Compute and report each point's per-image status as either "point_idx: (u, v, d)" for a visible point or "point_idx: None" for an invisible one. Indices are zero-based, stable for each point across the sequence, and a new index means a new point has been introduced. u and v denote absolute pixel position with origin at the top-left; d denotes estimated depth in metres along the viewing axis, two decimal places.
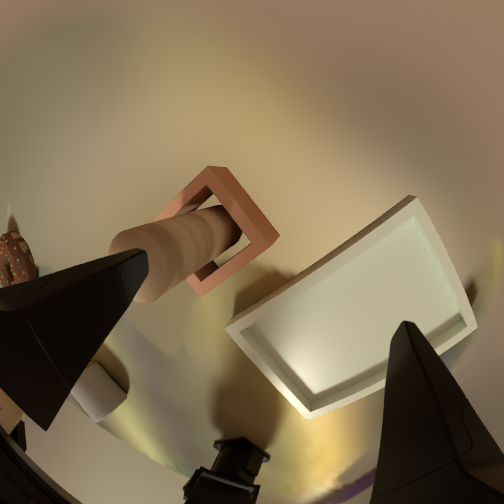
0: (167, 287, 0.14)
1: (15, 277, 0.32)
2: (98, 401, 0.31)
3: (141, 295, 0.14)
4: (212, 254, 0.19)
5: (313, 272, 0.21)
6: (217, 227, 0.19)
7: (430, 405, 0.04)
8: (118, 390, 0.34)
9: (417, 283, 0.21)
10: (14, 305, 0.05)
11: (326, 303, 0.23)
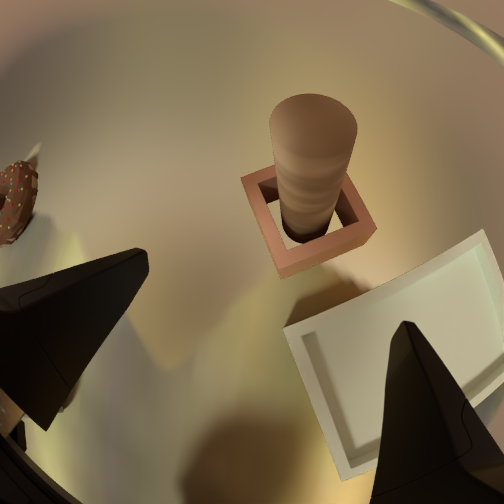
0: (346, 152, 0.11)
1: (7, 204, 0.25)
2: None
3: (309, 148, 0.11)
4: (334, 202, 0.16)
5: (402, 275, 0.18)
6: None
7: (430, 405, 0.04)
8: None
9: (477, 314, 0.18)
10: (14, 305, 0.05)
11: (400, 321, 0.19)
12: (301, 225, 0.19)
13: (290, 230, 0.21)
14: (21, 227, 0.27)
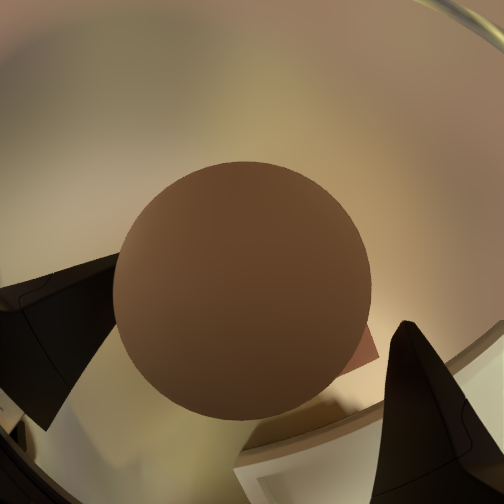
0: None
1: None
2: None
3: (205, 387, 0.04)
4: None
5: None
6: None
7: (430, 405, 0.04)
8: None
9: (491, 422, 0.10)
10: (14, 305, 0.05)
11: None
12: None
13: None
14: None
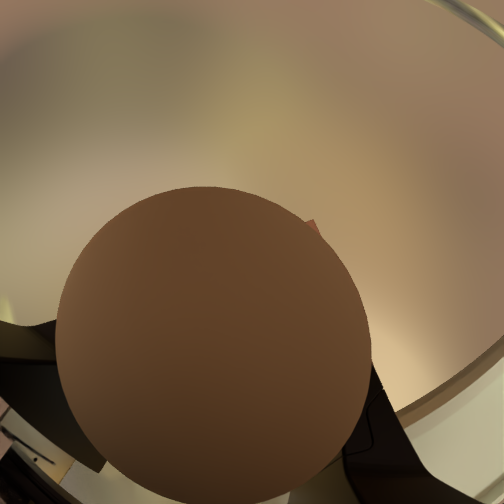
0: None
1: None
2: None
3: (157, 469, 0.02)
4: None
5: (406, 427, 0.10)
6: None
7: None
8: None
9: (493, 437, 0.09)
10: None
11: None
12: None
13: None
14: None
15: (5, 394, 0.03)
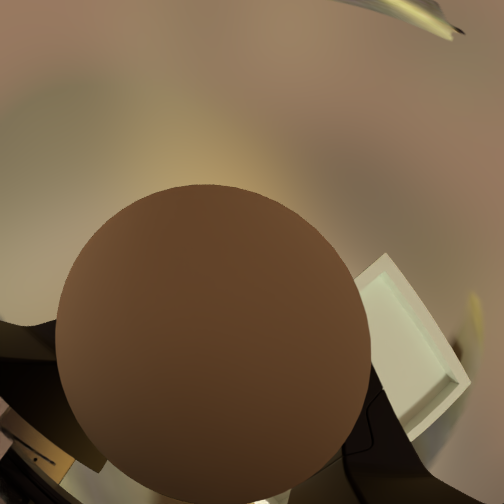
0: None
1: None
2: None
3: (157, 468, 0.02)
4: None
5: None
6: None
7: None
8: None
9: (395, 349, 0.18)
10: None
11: None
12: None
13: None
14: None
15: (5, 394, 0.03)
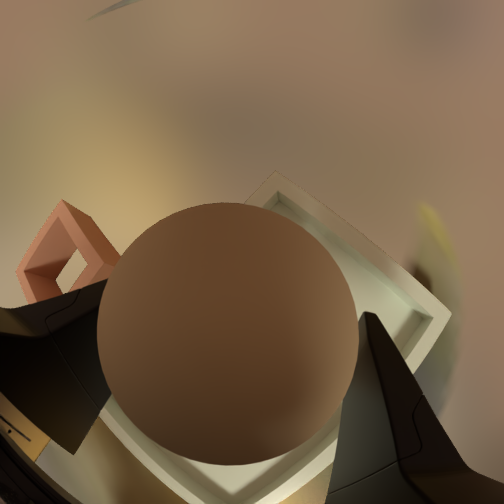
0: None
1: None
2: None
3: (189, 434, 0.03)
4: None
5: None
6: None
7: (379, 399, 0.05)
8: None
9: None
10: (41, 329, 0.04)
11: None
12: None
13: None
14: None
15: None
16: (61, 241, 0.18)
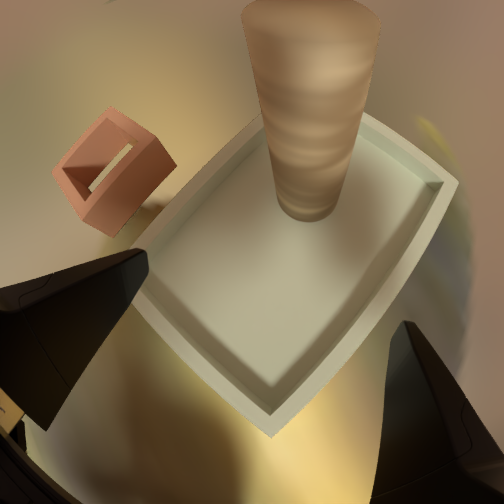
0: (368, 47, 0.05)
1: None
2: None
3: (306, 33, 0.05)
4: (349, 153, 0.11)
5: (209, 162, 0.17)
6: None
7: (430, 405, 0.04)
8: None
9: None
10: (14, 305, 0.05)
11: (239, 210, 0.18)
12: (301, 190, 0.13)
13: (286, 201, 0.15)
14: None
15: None
16: (103, 144, 0.20)
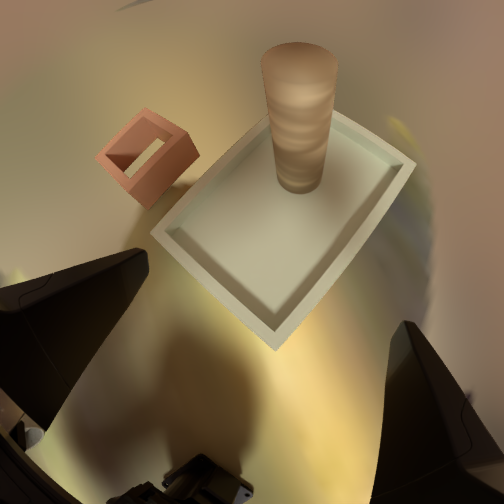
0: (328, 83, 0.11)
1: None
2: None
3: (295, 77, 0.11)
4: (324, 143, 0.17)
5: (227, 151, 0.23)
6: None
7: (430, 405, 0.04)
8: None
9: (330, 150, 0.24)
10: (14, 305, 0.05)
11: (249, 186, 0.24)
12: (293, 168, 0.19)
13: (283, 177, 0.21)
14: None
15: None
16: (138, 138, 0.26)
